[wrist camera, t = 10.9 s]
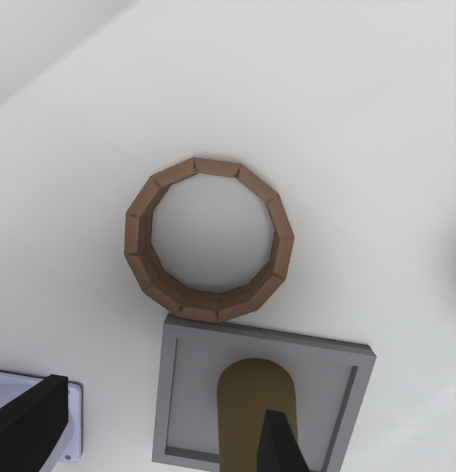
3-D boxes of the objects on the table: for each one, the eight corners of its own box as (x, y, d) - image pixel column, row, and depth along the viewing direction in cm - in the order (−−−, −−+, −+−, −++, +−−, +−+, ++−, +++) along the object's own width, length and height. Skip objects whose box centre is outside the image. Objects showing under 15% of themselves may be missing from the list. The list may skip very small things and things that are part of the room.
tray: (156, 447, 24) (151, 461, 23) (168, 314, 21) (163, 323, 19) (328, 476, 23) (332, 492, 22) (368, 345, 20) (376, 356, 19)
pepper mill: (305, 412, 21) (364, 656, 11) (232, 430, 22) (220, 672, 12) (281, 348, 20) (322, 553, 9) (205, 369, 21) (164, 579, 10)
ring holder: (136, 291, 20) (121, 308, 18) (144, 150, 18) (128, 148, 15) (271, 312, 20) (275, 332, 18) (298, 172, 17) (307, 173, 15)
